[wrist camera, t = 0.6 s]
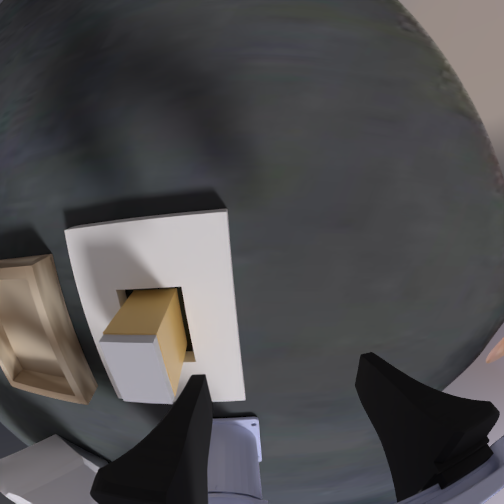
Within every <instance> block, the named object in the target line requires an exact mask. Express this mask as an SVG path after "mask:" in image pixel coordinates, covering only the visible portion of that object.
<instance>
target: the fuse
mask: <svg viewBox="0 0 504 504" xmlns="http://www.w3.org/2000/svg"><path fill="white" fill-rule="evenodd" d="M99 344H100V347H101V349H102V352H103V354H104V357H105V360H106V362H107V364H108V367H109V369H110V372H111V374H112V376H113V379H114V381H115V383H116V385H117V388H118V390H119V392H120V394H121V396H122V398H123V400H124V401H129V402H141V403H157V404H173V401H174V397H176V393H177V388H178V383H179V379H180V374H181V370H182V365H183V361H184V357H185V352H186V348H187V344H188V343H187V339H186V334H185V329H184V324H183V319H182V314H181V309H180V304H179V298H178V292H177V288H170V289H152V290H134V291H133V292H132V293H131V295H130V296H129V297H128V299H127V300H126V301H125V303H124V304H123V305H122V307H121V308H120V309H119V311H118V312H117V313H116V315H115V316H114V318H113V319H112V320H111V322H110V323H109V325H108V326H107V327H106V329H105V330H104V332H103V336H102V338H101V339H100V340H99Z"/></svg>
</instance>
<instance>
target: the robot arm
mask: <svg viewBox="0 0 504 504" xmlns="http://www.w3.org/2000/svg"><path fill="white" fill-rule="evenodd" d="M355 387H356V390H357V393H358V396H359V398H360V401H361V403H362V405H363V407H364V409H365V411H366V413H367V415H368V417H369V419H370V420H371V422H372V424H373V426H374V428H375V430H376V432H377V434H378V436H379V438H380V440H381V443H382V446H383V448H384V451H385V454H386V457H387V460H388V464H389V467H390V471H391V474H392V478H393V482H394V487H395V492H396V498H397V503H395V504H484V503H485V502H486V501H487V500H489V499H490V498H491V497H492V496H494V495H495V494H496V493H497V492H499V491H500V490H501V489H502V488H503V487H504V436H502V437H501V438H500V439H499V440H497V441H496V442H495V443H494V444H492V445H491V446H490V447H489V446H488V444H487V443H488V442H489V439H488V437H487V435H488V433H489V432H490V431H491V429H492V428H493V426H494V425H495V423H496V422H497V420H498V418H499V415H500V414H499V411H498V410H497V408H496V407H495V406H494V405H493V404H492V403H491V402H490V401H479V400H471V399H466V398H461V397H457V396H453V395H450V394H446V393H444V392H441V391H438V390H436V389H433V388H431V387H429V386H426V385H424V384H422V383H420V382H418V381H417V380H415V379H413V378H411V377H409V376H408V375H406V374H404V373H403V372H401V371H400V370H398V369H397V368H395V367H393V366H392V365H391V364H389V363H388V362H386V361H385V360H383V359H382V358H380V357H379V356H377V355H376V354H374V353H373V352H370V353H366V354H361V356H360V361H359V367H358V372H357V377H356V382H355ZM260 461H262V456H261V444H260V432H259V420H258V418H257V417H239V418H216V419H213V404H212V400H211V396H210V391H209V387H208V383H207V379H206V374H195V375H191V376H190V378H189V380H188V382H187V384H186V385H185V387H184V389H183V390H182V392H181V394H180V395H179V397H178V398H177V400H176V401H175V403H174V404H173V406H172V407H171V409H170V410H169V411H168V413H167V414H166V415H165V416H164V418H163V419H162V420H161V421H160V423H159V424H158V425H157V426H156V427H155V428H154V429H153V430H152V431H151V432H150V433H149V434H148V435H147V436H146V437H145V438H144V439H143V440H142V441H141V442H140V443H138V444H137V445H136V446H135V447H134V448H132V449H131V450H129V451H128V452H127V453H125V454H124V455H122V456H121V457H119V458H118V459H116V460H115V461H113V462H111V463H109V464H107V465H105V466H103V467H102V468H99V469H98V472H97V474H96V476H95V478H94V481H93V484H92V487H91V491H90V495H91V497H92V498H93V499H94V500H95V501H96V502H97V503H98V504H269V501H268V500H262V490H261V481H260V471H259V462H260Z"/></svg>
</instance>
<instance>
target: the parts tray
mask: <svg viewBox="0 0 504 504" xmlns="http://www.w3.org/2000/svg"><path fill="white" fill-rule="evenodd" d="M0 366H1V368H2V370H3V372H4V373H5V375H6V377H7V379H8V380H9V382H10V384H11V386H13V387H16V388H19V389H22V390H25V391H29V392H32V393H36V394H40V395H44V396H47V397H52V398H56V399H60V400H65V401H69V402H74V403H80V404H85V405H88V404H89V402H90V400H91V398H92V396H93V394H94V392H95V390H96V389H97V387H98V385H97V383H96V380H95V378H94V376H93V374H92V372H91V370H90V367H89V365H88V363H87V361H86V358H85V356H84V353H83V351H82V349H81V346H80V344H79V341H78V338H77V336H76V333H75V330H74V328H73V325H72V322H71V319H70V316H69V313H68V310H67V307H66V304H65V301H64V297H63V294H62V291H61V287H60V283H59V280H58V276H57V272H56V268H55V264H54V260H53V255H52V254H46V255H37V256H29V257H20V258H11V259H3V260H0Z"/></svg>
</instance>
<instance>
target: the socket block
mask: <svg viewBox="0 0 504 504" xmlns="http://www.w3.org/2000/svg"><path fill="white" fill-rule="evenodd" d="M64 231H65V236H66V242H67V247H68V252H69V256H70V261H71V265H72V269H73V274H74V278H75V281H76V285H77V289H78V292H79V296H80V299H81V303H82V306H83V309H84V313H85V316H86V319H87V322H88V325H89V328H90V331H91V334H92V336H93V339H94V342H95V344H96V347H97V350H98V352H99V355H100V357H101V360H102V362H103V365H104V367H105V369H106V372H107V374H108V376H109V379H110V381H111V383H112V385H113V387H114V390H115V392H116V394H117V396H118V398H121V399H123V398H122V396H121V394H120V392H119V390H118V388H117V385H116V383H115V381H114V379H113V376H112V374H111V372H110V369H109V367H108V364H107V362H106V360H105V357H104V354H103V352H102V349H101V347H100V344H99V340H100V339H101V338H102V336H103V332H104V330H105V329H106V327H107V326H108V325H109V323H110V322H111V320H112V319H113V318H114V316H115V315H116V313H117V312H118V311H119V309H120V308H121V307H122V305H123V304H124V303H125V301H126V300H127V297H126V293H125V289H146V288H165V287H182V293H183V299H184V305H185V310H186V316H187V321H188V326H189V331H190V336H191V341H192V346H193V351H186V352H185V357H184V361H183V365H182V370H181V374H180V379H179V383H178V388H177V393H176V397H174V401H173V402H175V401H176V400H177V398H178V397H179V395H180V394H181V392H182V390H183V389H184V387H185V385H186V384H187V382H188V380H189V378H190V376H191V375H195V374H206V379H207V383H208V387H209V391H210V396H211V400H212V402H222V401H241V400H245V387H244V378H243V369H242V360H241V351H240V341H239V331H238V322H237V312H236V301H235V291H234V280H233V269H232V258H231V247H230V235H229V223H228V210H227V209H215V210H204V211H193V212H182V213H173V214H163V215H154V216H145V217H137V218H129V219H121V220H113V221H106V222H98V223H91V224H84V225H78V226H73V227H71V228H68V229H66V230H64Z"/></svg>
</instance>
